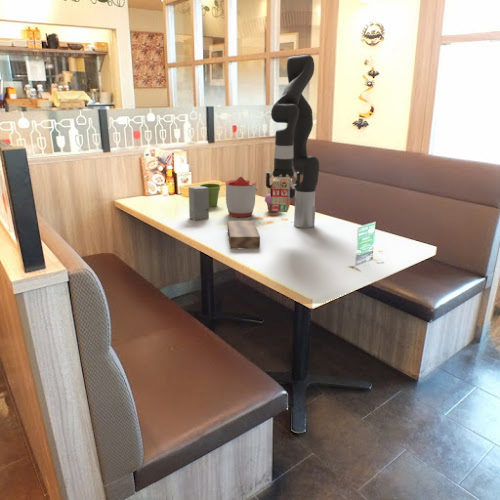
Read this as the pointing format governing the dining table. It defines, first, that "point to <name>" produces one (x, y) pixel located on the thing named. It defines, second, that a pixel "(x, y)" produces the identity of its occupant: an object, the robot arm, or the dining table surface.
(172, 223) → the dining table surface
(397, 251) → the dining table surface
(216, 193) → the plant pot
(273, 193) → the stack of blocks
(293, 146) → the robot arm
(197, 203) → the skincare box
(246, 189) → the citrus juicer
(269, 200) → the cupcake
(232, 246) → the walnut block
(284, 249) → the dining table surface
